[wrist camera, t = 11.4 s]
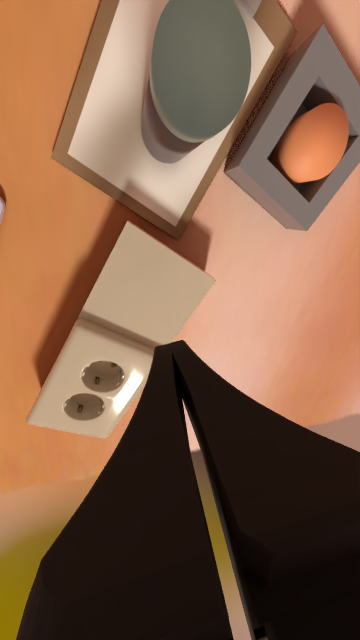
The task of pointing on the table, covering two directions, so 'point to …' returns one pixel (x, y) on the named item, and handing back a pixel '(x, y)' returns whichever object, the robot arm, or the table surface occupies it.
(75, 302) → the table surface
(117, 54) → the clipboard
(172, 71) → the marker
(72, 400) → the electrical outlet
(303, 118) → the button
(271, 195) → the grey egg holder
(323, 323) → the table surface
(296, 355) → the table surface
